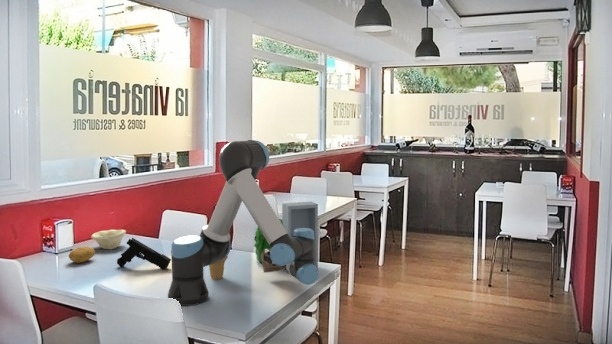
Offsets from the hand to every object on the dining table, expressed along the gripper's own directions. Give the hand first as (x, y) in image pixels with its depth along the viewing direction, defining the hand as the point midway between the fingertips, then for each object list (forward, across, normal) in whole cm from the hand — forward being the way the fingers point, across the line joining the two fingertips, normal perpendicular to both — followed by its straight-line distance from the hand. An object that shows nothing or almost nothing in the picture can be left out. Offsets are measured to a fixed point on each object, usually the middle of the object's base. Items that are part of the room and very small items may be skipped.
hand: (275, 251), depth 229 cm
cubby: (+13, +16, -13) cm, 25 cm away
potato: (+64, -76, -13) cm, 100 cm away
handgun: (+42, -50, -13) cm, 67 cm away
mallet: (-2, 0, -6) cm, 6 cm away
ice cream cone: (+14, -22, -13) cm, 29 cm away
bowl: (+89, -63, -13) cm, 110 cm away
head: (+28, +8, -13) cm, 32 cm away
